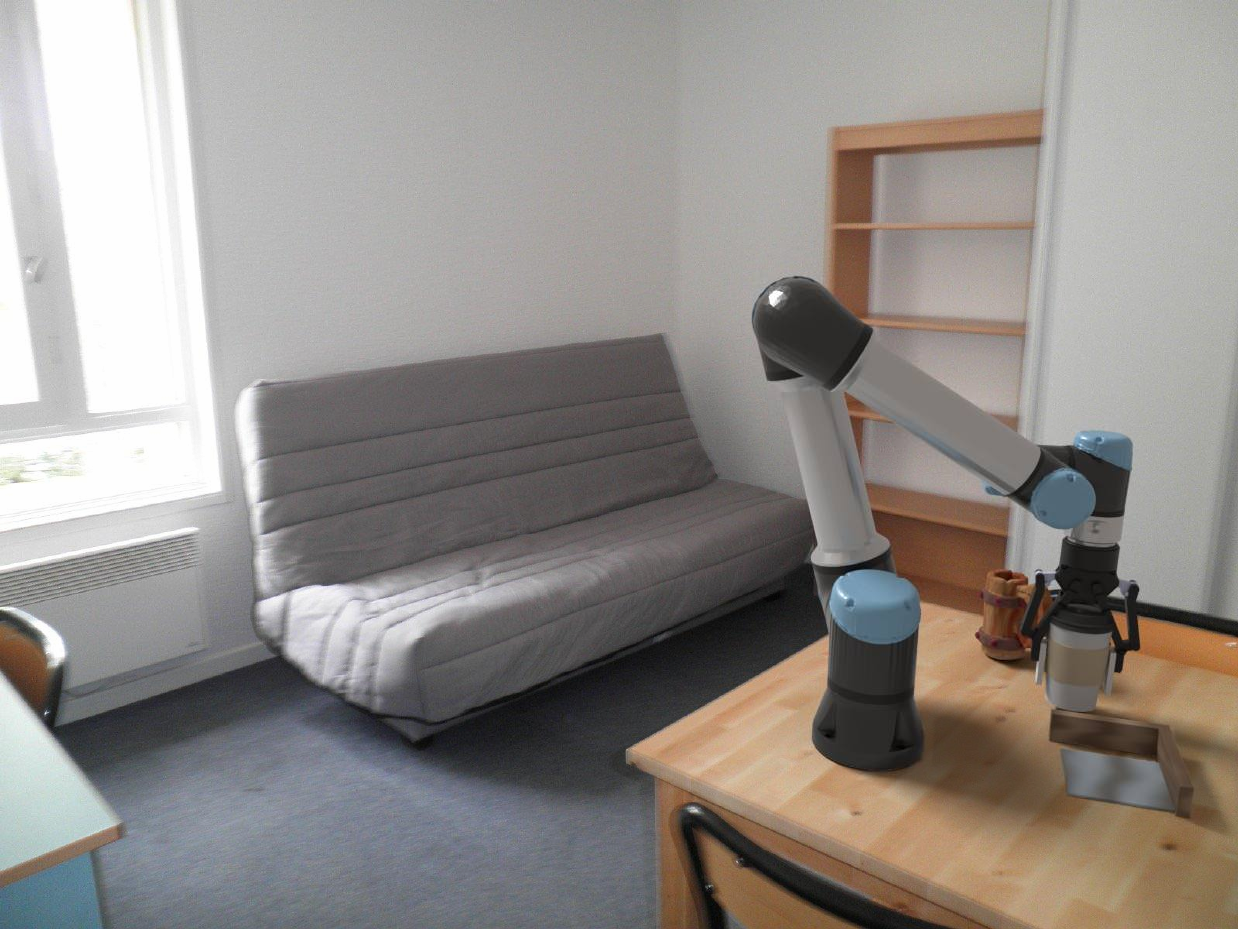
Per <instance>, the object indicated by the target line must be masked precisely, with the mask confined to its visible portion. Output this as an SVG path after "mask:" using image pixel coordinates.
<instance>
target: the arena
mask: <svg viewBox="0 0 1238 929" xmlns="http://www.w3.org/2000/svg"><path fill="white" fill-rule="evenodd" d="M1048 740H1049V741H1053V742H1060V743H1067V744H1073V745H1079V746H1087V747H1094V748H1102V749H1107V750H1112V751H1113V750H1114V751H1122V752H1128V753H1135V754H1141V755H1147V756H1148V755H1149V756H1153V757H1155V759H1156V761H1149V760H1142V759H1135V758H1132V757H1130V758H1129V757H1124V756H1123V757H1122V756H1117V755H1109V754H1103V753H1097V752H1090V751H1082V750H1075V749H1071V748H1070V749H1069V748H1063V747H1060V749H1059V750H1060V756H1061V762H1062V767H1063V768H1062V769H1063V774H1064V780H1065V786H1066V791H1067V792H1066V793H1067V796H1069V797H1070V796H1071V797H1078V798H1083V799H1089V800H1096V801H1102V802H1107V803H1114V804H1119V805H1127V806H1133V807H1138V808H1139V807H1140V808H1144V809H1145V808H1146V809H1150V810H1156V811H1163V812H1169V813H1174V814H1175V816H1176V817H1181V818H1186V819H1190V818H1191V813H1192V807H1193V806H1192V805H1193V799H1194V791H1195V787H1194V784H1193V783H1192V780H1191V776H1190V774H1189V773H1188V770H1187V768H1186V765H1185V763H1184V759H1183V758H1182V754H1181V751H1180V749H1179V747H1178V745H1177V741H1176V739H1175V737H1174V735H1173V732H1172V729H1171V727H1170V725H1168V724H1162V723H1155V722H1147V721H1139V720H1131V719H1125V718H1119V717H1112V716H1103V715H1096V714H1090V713H1089V714H1088V713H1083V712H1080V713H1079V712H1077V711H1069V710H1060V709H1053V708H1051V709H1050V717H1049V728H1048Z"/></svg>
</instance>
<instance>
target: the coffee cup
mask: <svg viewBox="0 0 1238 929" xmlns="http://www.w3.org/2000/svg"><path fill="white" fill-rule="evenodd" d="M1048 613H1049V611H1048ZM1050 617H1051V618H1050V620H1049V622H1050V629H1049V631H1048V632H1047V638H1046V643H1047V647H1046V655H1045V663H1044V671H1045V688H1044V689H1045V691H1044V692H1045V693H1044V698H1045V700H1046V701H1047V702H1048V703H1049V704H1050V705H1053V706H1054V707H1056V708H1059V709H1063V710H1064V711H1069V712H1076V713H1079V712H1080V713H1083V712H1085V713H1086V712H1090V711H1093V710H1095V708H1096V707H1097V702H1098V698H1099V693H1100V690H1101V684H1103V682H1104V674H1105V669H1106V664H1107V660H1108V656H1109V651H1110V647H1111V646H1112V643H1111V641H1112V637H1111V635H1112V631H1114V627H1113V625H1114V622H1110V621H1109V619H1108V616H1107V614H1102V612H1101V609H1100V607H1099V604H1096V605H1094V604H1089V603H1086V602H1072V601H1071V602H1070V603H1069V605H1068V606H1067V607H1065V609H1060V608H1059V610H1058V611H1057V612H1056V614H1055V615H1052V614H1051V615H1050Z"/></svg>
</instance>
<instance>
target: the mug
mask: <svg viewBox="0 0 1238 929" xmlns="http://www.w3.org/2000/svg"><path fill="white" fill-rule="evenodd" d="M986 576H987V577H986V585H984V586H983V588H982V590H981V591H979V593H978V596H979V598H981V599H982V600H983V601H984V602H983V618H982V626H980V627H979V628H978V631H976V632H975V633H974V637H975V638H976V639H977V641H978V642H979V643H981V645H980V647H981V650H982V652H983V653H984V654H985V655H986V656H988V657H990V658H992V659H996V660H1001V661H1003V660H1004V661H1012V660H1013V661H1015V660H1018V659H1022V658H1024V657H1025V656H1026V649H1029V650H1030V649H1031V642H1032V640H1031V638H1029V637H1027V636H1023V635H1022V634H1021V631H1020V624H1021V622H1022V619H1023V616H1024V613H1025V611H1026V608H1027V605H1028V602H1029V600H1030V597H1031V594H1032V591H1033V589H1034V586H1035V582H1034V583H1030V584H1029V577H1028V576H1026V575H1025V574H1024V573H1022V572H1017V571H1015V572H1013V571H1012V570H1010V569H1006V568H1005V569H1002V568H1001V569H1000V568H999V569H998V568H996V569H995V570H993V569H990V571H989V572H988V573H987V575H986ZM1053 602H1054V600H1053V598H1052V595H1051V593H1050V590H1049V587H1045V591H1044V595H1043V598H1042V600H1041V603H1040V606H1039V609H1038V611H1037V614H1036V617H1035V619H1034V622H1033V625H1032V627H1033V628H1035V627H1036V625H1037V624H1038V623H1039V621H1040V620H1041V618H1042V617H1043V616H1044V614H1045V613H1046V611H1047V610H1048V609H1049V607H1050V606H1051V604H1052V603H1053ZM1044 637H1046V638H1047V633H1046V635H1045V636H1044Z"/></svg>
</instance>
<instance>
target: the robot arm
mask: <svg viewBox="0 0 1238 929" xmlns="http://www.w3.org/2000/svg"><path fill="white" fill-rule="evenodd" d="M751 325H752V326H751V327H752V329H753V333H754V335H755V338H756V340H757V341H756V342H757V345H758V346H757V347H758V350H759V353H760V359H761V362H762V364H763V365H762V366H763V369H764V370H763V371H764V375H765V377H766V381H767V383H768V384H770V385H772V386H773V387H775V388H776V389H778V390H779V391H780V395H781V398H782V403H783V406H784V411H785V414H786V419H787V423H788V426H789V431H790V436H791V439H792V444H793V447H794V451H795V456H796V460H797V464H798V467H799V472H800V475H801V479H802V480H801V482H802V484H803V489H804V492H805V496H806V501H807V505H808V509H809V512H810V517H811V521H812V525H813V529H814V533H815V538H816V542H817V546H816V547H815V549H814V550H813V552H812V553H811V554H810V555H811V556H810V560H811V565H812V568H813V572H814V573H813V574H814V576H815V581H816V585H817V595H818V598H819V601H820V605H821V606H822V610H823V614H824V615H823V616H824V618H825V622H826V627H827V631H828V656H827V657H828V659H827V677H826V678H827V682H826V688H825V691H824V693H823V696H822V698H821V701H820V703H819V705H818V708H817V710H816V713H815V715H814V717H813V720H812V726H811V727H812V728H811V741H812V744H813V746H814V747H815V749H816V750H817V751H819V753H821V754H822V755H824V757H826V758H828V759H830V760H832V761H834V762H836V763H838V764H842V765H844V766H847V767H851V768H855V769H859V770H867V771H893V770H900V769H903V768H907V767H910V766H912V765H914V764H915V763H917V762H918V761H920V760H921V759H922V757H923V755H924V752H925V751H924V750H925V739H926V738H925V731H924V727H923V724H922V720H921V716H920V714H919V709H918V706H917V702H916V700H915V688H916V687H915V686H916V684H915V683H916V674H917V659H918V646H919V645H918V642H919V630H920V623H921V620H922V619H921V618H922V608H921V599H920V598H921V597H920V594H919V592H918V589H917V588H916V586H915V585H914V584H913V583H912V582H910V580H908V579H906V578H905V577H899V575H898V573H897V569H896V565H895V564H896V563H895V560H894V557H893V553H892V548H891V544H890V543H891V542H890V541H889V539H888V538H887V537H885V536H883V535H881V534H880V533H878V532H877V530H876V525H875V521H874V517H873V513H872V508H871V504H870V499H869V496H868V492H867V491H868V490H867V486H866V483H865V482H866V481H865V478H864V474H863V470H862V465H861V461H860V456H859V453H858V448H857V445H856V439H855V435H854V430H853V427H852V423H851V418H850V413H849V410H848V409H849V408H848V406H847V400H846V397H845V393H846V394H848V395H849V396H852V398H854V399H856V400H857V401H859V402H860V403H862V404H863V405H865V406H867V407H869V408H870V409H871V410H872V411H874V412H875V413H877V414H879V415H881V416H882V417H884V418H885V419H887V420H889V421H890V422H891V423H893V424H894V425H896V426H897V427H899V428H901V429H902V430H904V431H905V432H907V433H908V434H910V435H912V436H913V437H914V438H916V439H917V440H919V441H920V442H922V443H924V444H925V445H927V446H928V447H930V448H932V449H933V450H934V451H936V452H938V453H939V454H940V455H942V456H943V457H945V458H947V459H949V461H951V462H953V463H955V464H956V465H958V466H959V467H960V468H962V469H964V470H965V471H967V472H968V473H970V474H972V475H973V476H975V477H976V478H977V479H979V480H981V484H982V488H983V490H984V492H985V493H987V494H988V495H989V496H990V495H991V496H998V497H1002V498H1008V499H1010V501H1012V502H1014V503H1015V504H1016V505H1019V506H1020V507H1021V508H1023V509H1024V510H1026V511H1028V512H1029V513H1031V515H1033V517H1034V518H1035V519H1036V520H1038V521H1039V522H1040V523H1042V524H1044V525H1046V526H1048V527H1050V528H1052V529H1057V530H1063V532H1062V533H1063V534H1064V535H1065V536H1064V537H1063V538H1062V541H1061V548H1060V554H1059V556H1060V557H1059V563H1058V566H1057V567H1056V569H1055V570H1054V571H1043V570H1042V569H1040V568H1039V569H1036V570H1034V583H1035V586H1034V589H1033V591H1032V594H1031V597H1030V600H1029V602H1028V605H1027V608H1026V611H1025V613H1024V616H1023V619H1022V622H1021V624H1020V631H1021V634H1022V635H1023V636H1027V637H1029V638H1031V640H1032V642H1031V648H1030V649H1029V651H1030V652H1029V655H1030V660H1031V661H1032V662H1036V666H1035V677H1034V678H1035V684H1036V685H1039V686H1042V685H1043V679H1044V678H1043V677H1044V671H1045V663H1046V647H1047V643H1046V637H1044V636H1045V635H1046V633H1047V632H1048V631H1049V629H1050V622H1049V620H1050V618H1051V617H1050V615H1051V614H1052V615H1055V614H1056V612H1057V611H1058V610H1059V608H1060V609H1065V607H1067V606H1068V605H1069V603H1070V602H1071V601H1072V602H1086V603H1089V604H1094V605H1098V606H1099V607H1100V609H1101V612H1102V614H1107V616H1108V619H1109V621H1110V622H1114V625H1113V627H1114V631H1112V635H1111V641H1112V642H1113V644H1114V646H1112V645H1111V647H1110V651H1109V656H1108V660H1107V664H1106V669H1105V673H1104V678H1103V682H1102V690H1103V693H1104V695H1105V696H1111V695H1112V691H1113V690H1112V688H1113V681H1114V673H1117V674H1121V673H1122V671H1123V666H1124V663H1125V662H1124V660H1125V656H1126V655H1127V653H1128V652H1131V651H1134V652H1137V651H1140V650H1141V640H1140V630H1139V628H1140V627H1139V618H1138V611H1137V610H1138V608H1137V599H1138V596H1139V592H1140V587H1139V584H1138V582H1137V580H1134V579H1130V580H1124V579H1121V578H1119V577H1118V574H1117V573H1118V565H1119V559H1120V558H1119V557H1120V552H1121V551H1120V550H1121V546H1120V545H1119V542H1121V541H1122V534H1123V528H1124V521H1125V520H1124V519H1125V513H1126V512H1125V511H1126V504H1127V499H1128V498H1127V497H1128V491H1129V485H1130V480H1131V474H1132V473H1131V472H1132V471H1133V454H1134V452H1133V448H1134V446H1133V445H1134V444H1133V441H1132V439H1131V438H1130V437H1129V436H1127V435H1125V434H1123V433H1120V432H1114V431H1107V430H1096V429H1095V430H1094V429H1093V430H1092V429H1091V430H1081V431H1078V432H1077V433H1076V434H1075V436H1074V440H1073V442H1072V444H1068V445H1067V444H1066V445H1053V444H1051V445H1049V444H1036V443H1034V442H1033V441H1031V440H1029V439H1027V438H1026V437H1024V436H1023V435H1021V434H1020V433H1019V432H1017V431H1016V430H1014V429H1012V428H1011V427H1010V426H1008V425H1006V424H1005V423H1003V422H1002V421H1000V420H999V419H997V418H995V417H994V416H992V415H991V414H989V413H988V412H986V411H984V410H983V409H982V408H980V407H979V406H977V405H975V404H974V403H973V402H971V401H969V399H967V398H965V397H964V396H962V395H961V394H959V393H957V392H956V391H954V390H953V389H951V388H950V387H948V386H946V385H945V384H943V383H942V382H941V381H939V380H938V379H936V378H935V377H933V376H931V375H930V374H928V373H927V372H925V371H924V370H922V369H920V368H919V367H918V366H917V365H915V364H913V363H911V362H910V361H908V360H907V359H906V358H904V357H902V356H901V355H899V354H898V353H896V352H895V351H894V350H892V349H890V348H889V347H888V346H886V345H884V344H883V343H881V342H880V341H878V340H877V334H876V330H875V328H874V327H872V326H870V325H868V324H867V323H865V322H864V321H863V320H861V319H860V318H859V317H857V316H856V315H855V314H854V313H852V311H851V310H849V309H847V307H845V306H844V304H843V303H841V301H840V300H838V298H837V297H836V296H835V295H834V294H833V293H832V292H831V291H830V290H828V289H827V288H826V287H825V286H823V285H822V284H821V283H820V281H819V282H818V281H817V280H815V279H814V278H811V277H807V276H803V275H792V276H786V277H782V278H780V279H777V280H774V281H772V282H771V283H770V284H768V285H767V286H766V287H764V288H763V289H762V291H761V292H760V293H759V295H758V296H757V297H756V300H755V302H754V304H753V307H752V311H751ZM1053 581H1056V583H1057V584H1058V586H1059V587H1060V590H1059V592H1058V593H1057V595H1056V597H1055V599H1054V600H1053V603H1052V604H1051V606H1050V607H1049V609H1048V610H1047V611H1046V613H1045V614H1044V616H1043V617H1042V618H1041V620H1040V621H1039V623H1038V624H1037V625H1036V627H1035V628H1033V627H1032V625H1033V622H1034V619H1035V617H1036V614H1037V611H1038V609H1039V606H1040V603H1041V600H1042V598H1043V595H1044V591H1045V587H1047V588H1049V586H1050V585H1051V583H1052V582H1053ZM1117 588H1118V589H1120V593H1121V595H1122V596H1123V597H1124V598H1123V599H1124V608H1125V619H1126V628H1127V636H1128V638H1127V639H1123V638H1122V635H1121V633H1120V630H1119V627H1118V625H1117V622H1116V620H1115V618H1114V617H1115V616H1114V614H1113V612H1112V610H1111V607H1110V605H1109V602H1108V600H1107V598H1108V596H1110V595H1111V594H1112V593H1113V592H1114V591H1115V590H1116V589H1117ZM1048 611H1049V613H1048Z"/></svg>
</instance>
